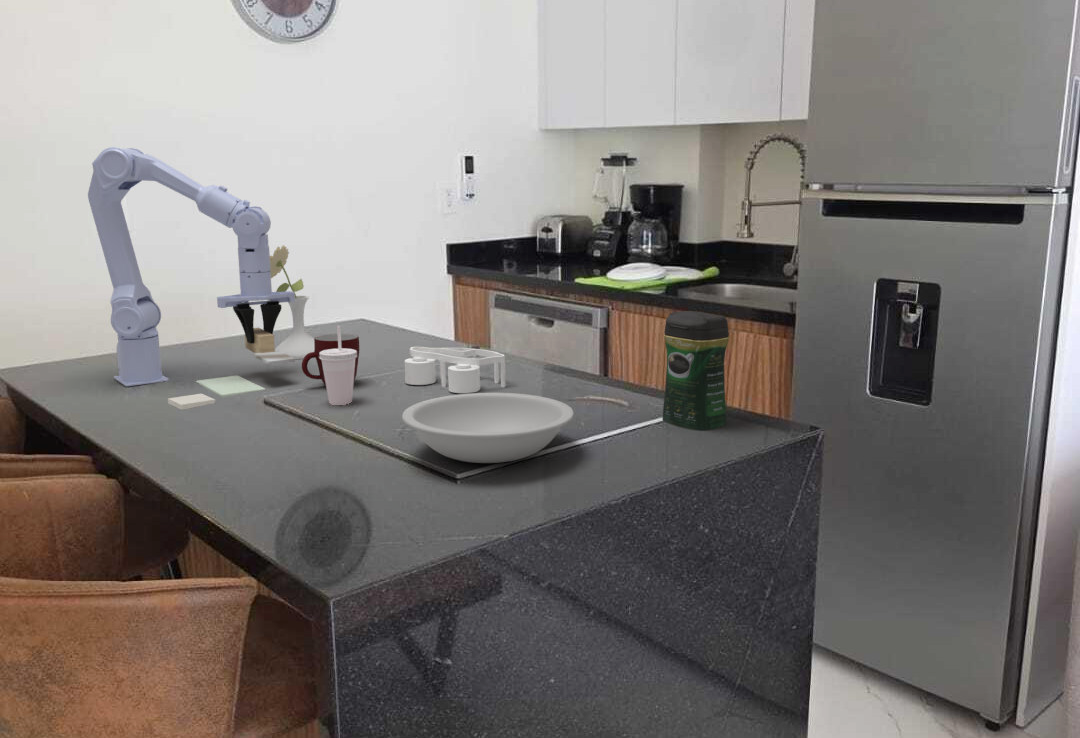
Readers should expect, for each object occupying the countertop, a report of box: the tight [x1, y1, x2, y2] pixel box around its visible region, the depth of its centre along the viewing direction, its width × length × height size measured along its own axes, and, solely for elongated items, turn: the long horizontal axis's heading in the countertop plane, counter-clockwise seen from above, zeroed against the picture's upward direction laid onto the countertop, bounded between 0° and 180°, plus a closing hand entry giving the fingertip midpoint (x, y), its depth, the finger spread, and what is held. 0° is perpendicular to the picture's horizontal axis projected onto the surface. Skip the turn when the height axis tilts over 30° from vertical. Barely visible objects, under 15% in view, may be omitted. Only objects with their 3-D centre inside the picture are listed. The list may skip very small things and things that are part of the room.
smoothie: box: [319, 325, 357, 406], centre depth 160 cm, size 6×6×14 cm
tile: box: [167, 392, 216, 411], centre depth 164 cm, size 1×6×6 cm
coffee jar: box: [662, 310, 730, 431], centre depth 144 cm, size 10×8×19 cm
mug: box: [301, 333, 360, 387], centre depth 173 cm, size 11×8×10 cm
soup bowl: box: [401, 392, 575, 464], centre depth 132 cm, size 24×24×7 cm
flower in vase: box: [270, 244, 315, 361], centre depth 199 cm, size 13×11×25 cm
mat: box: [195, 374, 266, 398], centre depth 176 cm, size 15×8×1 cm, turn 37°
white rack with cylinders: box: [404, 346, 507, 394], centre depth 172 cm, size 20×11×7 cm, turn 52°
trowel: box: [244, 327, 295, 366], centre depth 179 cm, size 15×5×4 cm, turn 37°
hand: (259, 341), depth 181 cm, fingers closed on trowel, 3 cm apart
